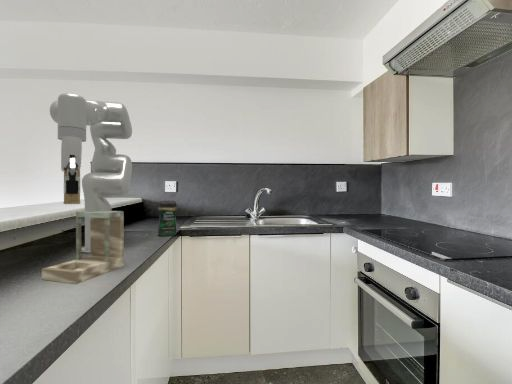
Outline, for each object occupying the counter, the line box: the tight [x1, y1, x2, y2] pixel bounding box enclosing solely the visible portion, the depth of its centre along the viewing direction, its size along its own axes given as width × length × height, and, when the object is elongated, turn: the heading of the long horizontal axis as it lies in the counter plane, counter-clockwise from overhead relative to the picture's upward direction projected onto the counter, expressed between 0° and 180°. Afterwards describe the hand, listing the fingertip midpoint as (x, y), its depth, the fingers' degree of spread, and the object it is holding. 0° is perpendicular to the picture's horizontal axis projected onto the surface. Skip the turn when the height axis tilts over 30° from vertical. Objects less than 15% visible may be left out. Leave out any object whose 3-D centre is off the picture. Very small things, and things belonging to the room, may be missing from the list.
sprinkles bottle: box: [63, 163, 81, 205], centre depth 90 cm, size 5×5×13 cm
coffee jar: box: [157, 200, 178, 237], centre depth 154 cm, size 10×8×19 cm
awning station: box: [41, 210, 125, 285], centre depth 88 cm, size 18×12×18 cm, turn 164°
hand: (72, 193), depth 90 cm, fingers closed on sprinkles bottle, 4 cm apart
